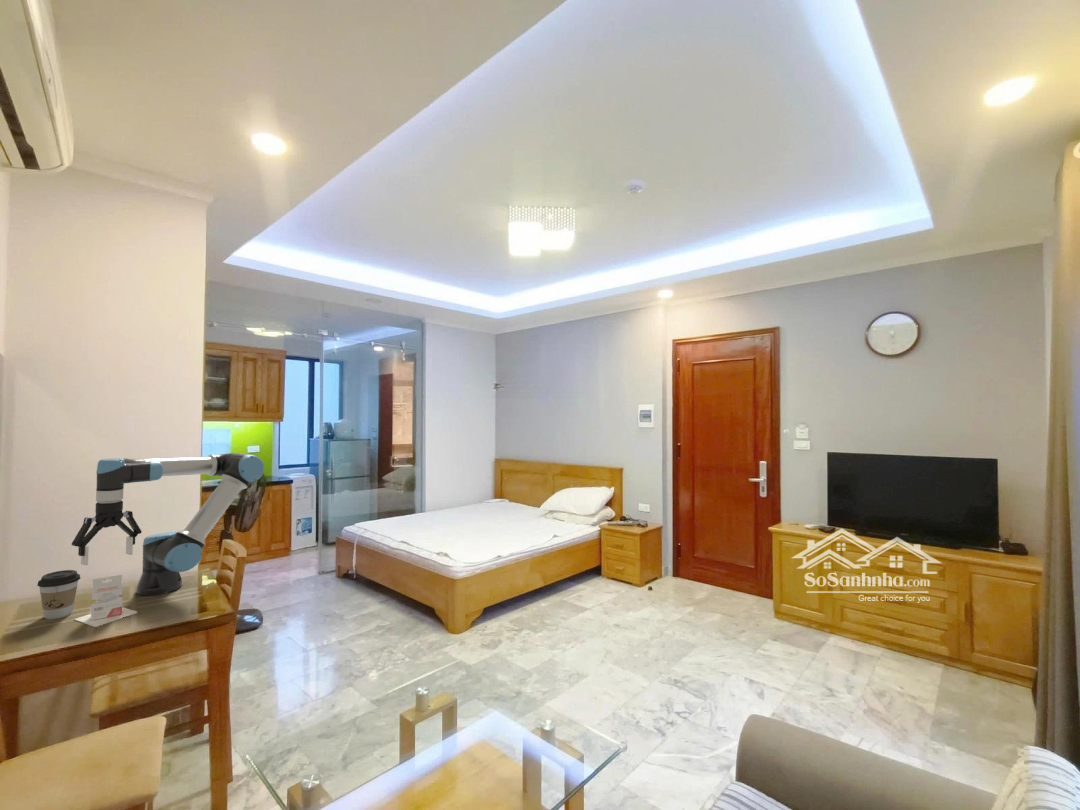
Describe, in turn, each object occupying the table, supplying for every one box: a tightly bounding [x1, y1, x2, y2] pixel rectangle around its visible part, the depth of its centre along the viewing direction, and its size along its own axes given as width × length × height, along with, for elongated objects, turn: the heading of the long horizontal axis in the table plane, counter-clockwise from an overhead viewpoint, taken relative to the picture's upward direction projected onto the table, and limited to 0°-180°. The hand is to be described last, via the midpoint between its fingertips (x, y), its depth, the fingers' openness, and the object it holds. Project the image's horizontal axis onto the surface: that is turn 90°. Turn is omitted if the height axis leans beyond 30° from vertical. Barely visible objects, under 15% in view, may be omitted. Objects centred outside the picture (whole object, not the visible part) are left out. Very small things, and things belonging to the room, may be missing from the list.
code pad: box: [74, 606, 139, 628], centre depth 178 cm, size 13×13×1 cm
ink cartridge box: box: [90, 574, 123, 620], centre depth 178 cm, size 9×5×15 cm, turn 131°
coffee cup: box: [36, 569, 81, 620], centre depth 178 cm, size 11×11×15 cm
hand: (107, 559), depth 178 cm, fingers open, 13 cm apart
